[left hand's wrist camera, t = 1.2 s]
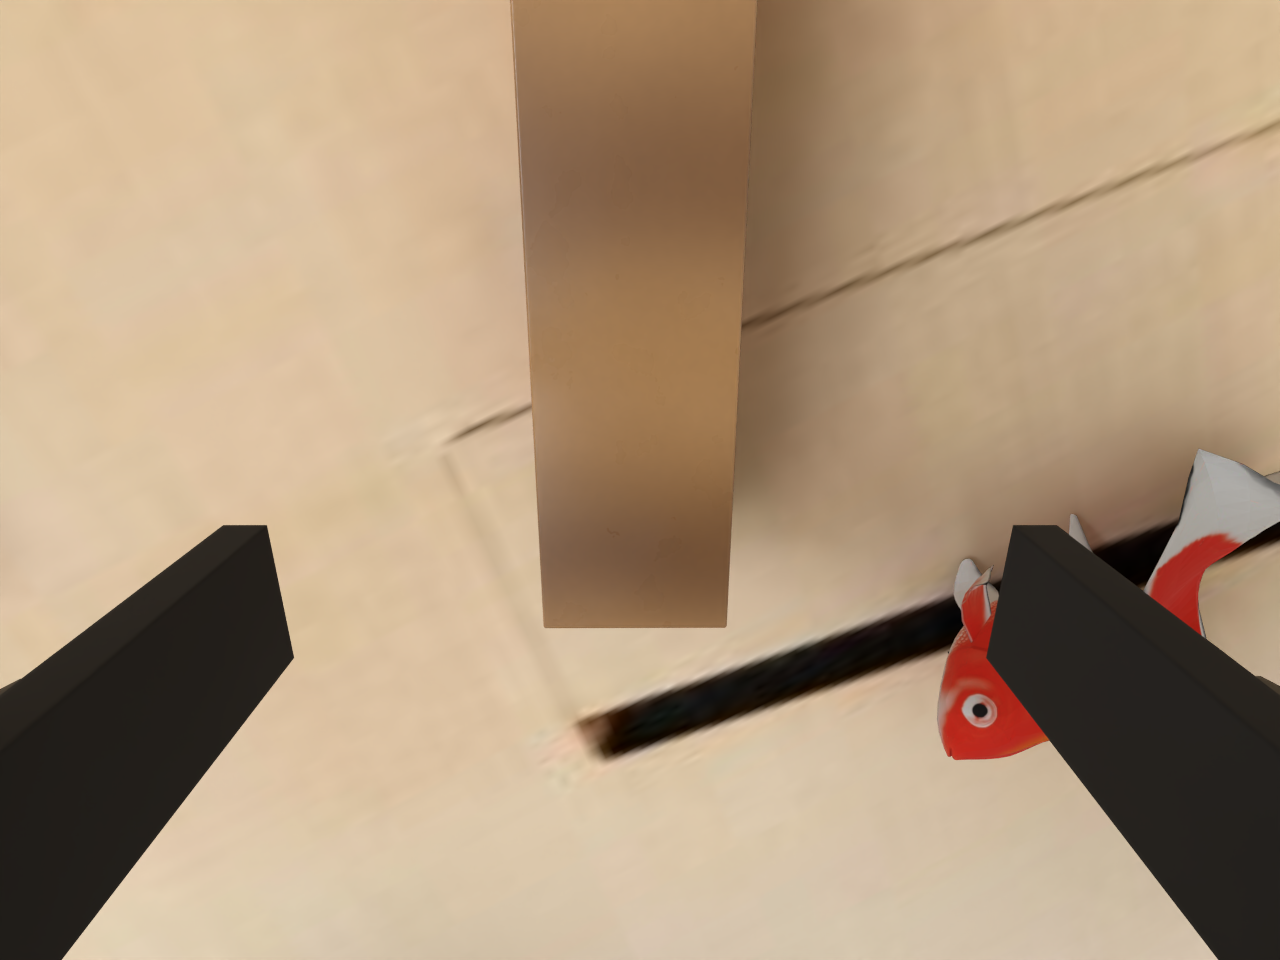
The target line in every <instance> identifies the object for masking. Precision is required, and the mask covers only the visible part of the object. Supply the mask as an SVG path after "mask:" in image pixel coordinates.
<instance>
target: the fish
mask: <svg viewBox="0 0 1280 960" xmlns="http://www.w3.org/2000/svg"><path fill="white" fill-rule="evenodd" d="M1279 521H1280V471H1279V472H1276V473H1272V474H1269V475H1266V476H1262V475H1261V474H1259V473H1257V472H1256V471H1254V470H1252V469H1250V468H1249V467H1247V466H1245V465H1244V464H1241V463H1238V462H1236V461H1233V460H1230V459H1227V458H1224V457H1221V456H1218V455H1215V454H1213V453H1210V452H1207V451H1204V450H1201V449H1198V452H1197V455H1196V458H1195V460H1194V463H1193V466H1192V469H1191V472H1190V475H1189V478H1188V483H1187V487H1186V491H1185V496H1184V500H1183V505H1182V509H1181V513H1180V518H1179V522H1178V524H1177V526H1176V528H1175V530H1174V532H1173V534H1172V536H1171V538H1170V540H1169V542H1168V544H1167V546H1166V548H1165V550H1164V552H1163V554H1162V556H1161V558H1160V560H1159V562H1158V564H1157V566H1156V568H1155V569H1154V571H1153V573H1152V575H1151V577H1150V579H1149V581H1148V583H1147V585H1146V586H1145V588H1144V590H1143V591H1144V592H1145V593H1146V594H1148V595H1149V596H1150V597H1152V598H1153V599H1154V600H1156V601H1157V602H1158V603H1160V604H1161V605H1162V606H1163V607H1165V608H1166V609H1167V610H1169V611H1170V612H1171V613H1173V614H1174V615H1175V616H1177V617H1178V618H1179V619H1181V620H1182V621H1183V622H1184V623H1186V624H1187V625H1188V626H1190V627H1191V628H1192V629H1194V630H1195V631H1196V632H1198V633H1199V634H1200V635H1202V636H1203V637H1204V638H1206V635H1205V631H1204V627H1203V623H1202V619H1201V615H1200V611H1199V603H1198V591H1199V586H1200V581H1201V578H1202V575H1203V573H1204V571H1205V569H1206V568H1207V567H1209V566H1210V565H1211V564H1212V563H1214V562H1216V561H1217V560H1219V559H1220V558H1222V557H1224V556H1225V555H1227V554H1228V553H1230V552H1232V551H1233V550H1235V549H1236V548H1237V547H1239V546H1240V545H1242V544H1243V543H1245V542H1246V541H1247V540H1249V539H1251V538H1253V537H1254V536H1256V535H1257V534H1259V533H1260V532H1262V531H1263V530H1265V529H1267V528H1268V527H1270V526H1272V525H1274V524H1275V523H1277V522H1279ZM1069 535H1070V536H1071V537H1073V538H1074V539H1075V540H1077V541H1078V542H1079V543H1081V544H1082V545H1083V546H1085V547H1086V548H1087V549H1089V550H1090V551H1091V552H1092V550H1091V548H1090V546H1089V544H1088V541H1087V539H1086V537H1085V535H1084V532H1083V530H1082V528H1081V525H1080V523H1079V520H1078V518H1077V516H1076V515H1074V514H1071V515H1070V527H1069ZM1092 553H1093V552H1092ZM993 566H994V565H993ZM993 566H991V567H990V568H989V569H987V571H986V572H985V573H984V574H983V575H982V574H981V573H980V571H979V570H978V568H977V567H976V565H975V564H974V562H973V561H972V560H971V559H965V560H963V561H962V562H961V564H960V566H959V569H958V572H957V576H956V580H955V584H954V597H955V600H956V602H957V604H958V606H959V608H960V609H961V615H962V622H963V625H964V626H963V628H962V629H961V630H960V632H959V633H958V635H957V636H956V638H955V640H954V642H953V644H952V646H951V648H950V651H949V652H948V658H947V661H946V664H945V668H944V672H943V677H942V682H941V686H940V693H939V699H938V709H937V722H938V729H939V734H940V737H941V740H942V743H943V746H944V749H945V751H946V753H947V756H948V757H951V756H952V757H953V758H954V759H955V760H966V759H994V758H1002V757H1007V756H1011V755H1014V754H1017V753H1019V752H1022V751H1024V750H1026V749H1029V748H1031V747H1033V746H1035V745H1038V744H1040V743H1042V742H1046V741H1049V739H1048V738H1047V736H1046V735H1045V734H1044V733H1043V731H1042V730H1041V729H1040V727H1039V726H1038V725H1037V723H1036V722H1035V721H1034V720H1033V718H1032V717H1031V716H1030V714H1029V713H1028V712H1027V710H1026V709H1025V708H1024V707H1023V705H1022V704H1021V703H1020V701H1019V700H1018V699H1017V697H1016V696H1015V695H1014V694H1013V692H1012V691H1011V690H1010V688H1009V687H1008V686H1007V684H1006V683H1005V682H1004V681H1003V679H1002V678H1001V677H1000V675H999V674H998V673H997V671H996V670H995V669H994V668H993V666H992V665H991V664H990V662H989V661H988V660H987V658H986V655H987V651H988V646H989V641H990V636H991V631H992V626H993V621H994V616H995V612H996V607H997V602H998V597H999V595H998V591H997V590H996V589H995V587H994V586H993V585H992V584H990V583H989V580H990V576H991V571H992V569H993Z"/></svg>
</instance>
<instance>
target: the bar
mask: <svg viewBox="0 0 1280 960" xmlns="http://www.w3.org/2000/svg"><path fill="white" fill-rule="evenodd" d="M510 5H511V24H512V42H513V61H514V80H515V98H516V117H517V136H518V154H519V173H520V192H521V211H522V229H523V248H524V267H525V285H526V304H527V323H528V341H529V360H530V379H531V397H532V416H533V435H534V453H535V472H536V491H537V509H538V528H539V547H540V565H541V584H542V603H543V621H544V627H545V628H725V627H726V626H727V607H728V586H729V566H730V546H731V526H732V505H733V485H734V465H735V445H736V424H737V404H738V384H739V364H740V343H741V323H742V303H743V282H744V262H745V242H746V222H747V201H748V181H749V161H750V141H751V120H752V100H753V80H754V59H755V39H756V19H757V0H510Z"/></svg>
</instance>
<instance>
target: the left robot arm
mask: <svg viewBox="0 0 1280 960" xmlns="http://www.w3.org/2000/svg"><path fill="white" fill-rule="evenodd" d="M293 658H294V655H293V651H292V646H291V641H290V636H289V631H288V626H287V621H286V616H285V612H284V607H283V602H282V597H281V592H280V587H279V582H278V578H277V573H276V568H275V563H274V558H273V553H272V548H271V543H270V539H269V534H268V529H267V525H223V526H222V527H220V528H219V529H218V530H216V531H215V532H214V533H213V534H211V535H210V536H209V537H207V538H206V539H205V540H203V541H202V542H201V543H199V544H198V545H197V546H195V547H194V548H193V549H191V550H190V551H189V552H188V553H186V554H185V555H184V556H182V557H181V558H180V559H178V560H177V561H176V562H174V563H173V564H172V565H170V566H169V567H168V568H166V569H165V570H164V571H163V572H161V573H160V574H159V575H157V576H156V577H155V578H153V579H152V580H151V581H149V582H148V583H147V584H145V585H144V586H143V587H142V588H140V589H139V590H138V591H136V592H135V593H134V594H132V595H131V596H130V597H128V598H127V599H126V600H124V601H123V602H122V603H120V604H119V605H118V606H117V607H115V608H114V609H113V610H111V611H110V612H109V613H107V614H106V615H105V616H103V617H102V618H101V619H99V620H98V621H97V622H96V623H94V624H93V625H92V626H90V627H89V628H88V629H86V630H85V631H84V632H82V633H81V634H80V635H78V636H77V637H76V638H74V639H73V640H72V641H71V642H69V643H68V644H67V645H65V646H64V647H63V648H61V649H60V650H59V651H57V652H56V653H55V654H53V655H52V656H51V657H49V658H48V659H47V660H46V661H44V662H43V663H42V664H40V665H39V666H38V667H36V668H35V669H34V670H32V671H31V672H30V673H28V674H27V675H26V676H25V677H23V678H22V679H19V680H17V681H15V682H13V683H11V684H9V685H7V686H5V687H3V688H1V689H0V960H62V959H63V957H64V956H65V955H66V953H67V952H68V951H69V949H70V948H71V947H72V946H73V944H74V943H75V942H76V940H77V939H78V938H79V936H80V935H81V934H82V933H83V931H84V930H85V929H86V927H87V926H88V925H89V923H90V922H91V921H92V920H93V918H94V917H95V916H96V914H97V913H98V912H99V911H100V909H101V908H102V907H103V905H104V904H105V903H106V901H107V900H108V899H109V898H110V896H111V895H112V894H113V892H114V891H115V890H116V888H117V887H118V886H119V885H120V883H121V882H122V881H123V879H124V878H125V877H126V875H127V874H128V873H129V872H130V870H131V869H132V868H133V866H134V865H135V864H136V862H137V861H138V860H139V859H140V857H141V856H142V855H143V853H144V852H145V851H146V849H147V848H148V847H149V846H150V844H151V843H152V842H153V840H154V839H155V838H156V836H157V835H158V834H159V833H160V831H161V830H162V829H163V827H164V826H165V825H166V823H167V822H168V821H169V820H170V818H171V817H172V816H173V814H174V813H175V812H176V810H177V809H178V808H179V807H180V805H181V804H182V803H183V801H184V800H185V799H186V797H187V796H188V795H189V794H190V792H191V791H192V790H193V788H194V787H195V786H196V784H197V783H198V782H199V781H200V779H201V778H202V777H203V775H204V774H205V773H206V771H207V770H208V769H209V768H210V766H211V765H212V764H213V762H214V761H215V760H216V759H217V757H218V756H219V755H220V753H221V752H222V751H223V749H224V748H225V747H226V746H227V744H228V743H229V742H230V740H231V739H232V738H233V736H234V735H235V734H236V733H237V731H238V730H239V729H240V727H241V726H242V725H243V723H244V722H245V721H246V720H247V718H248V717H249V716H250V714H251V713H252V712H253V710H254V709H255V708H256V707H257V705H258V704H259V703H260V701H261V700H262V699H263V697H264V696H265V695H266V694H267V692H268V691H269V690H270V688H271V687H272V686H273V684H274V683H275V682H276V681H277V679H278V678H279V677H280V675H281V674H282V673H283V671H284V670H285V669H286V668H287V666H288V665H289V664H290V662H291V661H292V660H293ZM986 658H987V660H988V661H989V662H990V664H991V665H992V666H993V668H994V669H995V670H996V671H997V673H998V674H999V675H1000V677H1001V678H1002V679H1003V681H1004V682H1005V683H1006V684H1007V686H1008V687H1009V688H1010V690H1011V691H1012V692H1013V694H1014V695H1015V696H1016V697H1017V699H1018V700H1019V701H1020V703H1021V704H1022V705H1023V707H1024V708H1025V709H1026V710H1027V712H1028V713H1029V714H1030V716H1031V717H1032V718H1033V720H1034V721H1035V722H1036V723H1037V725H1038V726H1039V727H1040V729H1041V730H1042V731H1043V733H1044V734H1045V735H1046V736H1047V738H1048V739H1049V740H1050V742H1051V743H1052V744H1053V746H1054V747H1055V748H1056V749H1057V751H1058V752H1059V753H1060V755H1061V756H1062V757H1063V759H1064V760H1065V761H1066V762H1067V764H1068V765H1069V766H1070V768H1071V769H1072V770H1073V771H1074V773H1075V774H1076V775H1077V777H1078V778H1079V779H1080V781H1081V782H1082V783H1083V784H1084V786H1085V787H1086V788H1087V790H1088V791H1089V792H1090V794H1091V795H1092V796H1093V797H1094V799H1095V800H1096V801H1097V803H1098V804H1099V805H1100V807H1101V808H1102V809H1103V810H1104V812H1105V813H1106V814H1107V816H1108V817H1109V818H1110V820H1111V821H1112V822H1113V823H1114V825H1115V826H1116V827H1117V829H1118V830H1119V831H1120V833H1121V834H1122V835H1123V836H1124V838H1125V839H1126V840H1127V842H1128V843H1129V844H1130V846H1131V847H1132V848H1133V849H1134V851H1135V852H1136V853H1137V855H1138V856H1139V857H1140V859H1141V860H1142V861H1143V862H1144V864H1145V865H1146V866H1147V868H1148V869H1149V870H1150V872H1151V873H1152V874H1153V875H1154V877H1155V878H1156V879H1157V881H1158V882H1159V883H1160V885H1161V886H1162V887H1163V888H1164V890H1165V891H1166V892H1167V894H1168V895H1169V896H1170V898H1171V899H1172V900H1173V901H1174V903H1175V904H1176V905H1177V907H1178V908H1179V909H1180V911H1181V912H1182V913H1183V914H1184V916H1185V917H1186V918H1187V920H1188V921H1189V922H1190V924H1191V925H1192V926H1193V927H1194V929H1195V930H1196V931H1197V933H1198V934H1199V935H1200V936H1201V938H1202V939H1203V940H1204V942H1205V943H1206V944H1207V946H1208V947H1209V948H1210V949H1211V951H1212V952H1213V953H1214V955H1215V956H1216V957H1217V959H1218V960H1280V686H1279V685H1277V684H1275V683H1273V682H1271V681H1269V680H1267V679H1265V678H1263V677H1261V676H1254V675H1253V674H1252V673H1250V672H1249V671H1248V670H1246V669H1245V668H1244V667H1242V666H1241V665H1240V664H1238V663H1237V662H1236V661H1234V660H1233V659H1232V658H1231V657H1229V656H1228V655H1227V654H1225V653H1224V652H1223V651H1221V650H1220V649H1219V648H1217V647H1216V646H1215V645H1213V644H1212V643H1211V642H1209V641H1208V640H1207V639H1206V638H1204V637H1203V636H1202V635H1200V634H1199V633H1198V632H1196V631H1195V630H1194V629H1192V628H1191V627H1190V626H1188V625H1187V624H1186V623H1184V622H1183V621H1182V620H1181V619H1179V618H1178V617H1177V616H1175V615H1174V614H1173V613H1171V612H1170V611H1169V610H1167V609H1166V608H1165V607H1163V606H1162V605H1161V604H1160V603H1158V602H1157V601H1156V600H1154V599H1153V598H1152V597H1150V596H1149V595H1148V594H1146V593H1145V592H1144V591H1142V590H1141V589H1140V588H1138V587H1137V586H1136V585H1135V584H1133V583H1132V582H1131V581H1129V580H1128V579H1127V578H1125V577H1124V576H1123V575H1121V574H1120V573H1119V572H1117V571H1116V570H1115V569H1113V568H1112V567H1111V566H1110V565H1108V564H1107V563H1106V562H1104V561H1103V560H1102V559H1100V558H1099V557H1098V556H1096V555H1095V554H1094V553H1092V552H1091V551H1090V550H1089V549H1087V548H1086V547H1085V546H1083V545H1082V544H1081V543H1079V542H1078V541H1077V540H1075V539H1074V538H1073V537H1071V536H1070V535H1069V534H1067V533H1066V532H1065V531H1064V530H1062V529H1061V528H1060V527H1058V526H1057V525H1013V529H1012V534H1011V539H1010V543H1009V548H1008V553H1007V558H1006V563H1005V568H1004V573H1003V578H1002V582H1001V587H1000V592H999V597H998V602H997V607H996V612H995V616H994V621H993V626H992V631H991V636H990V641H989V646H988V651H987V655H986Z"/></svg>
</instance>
